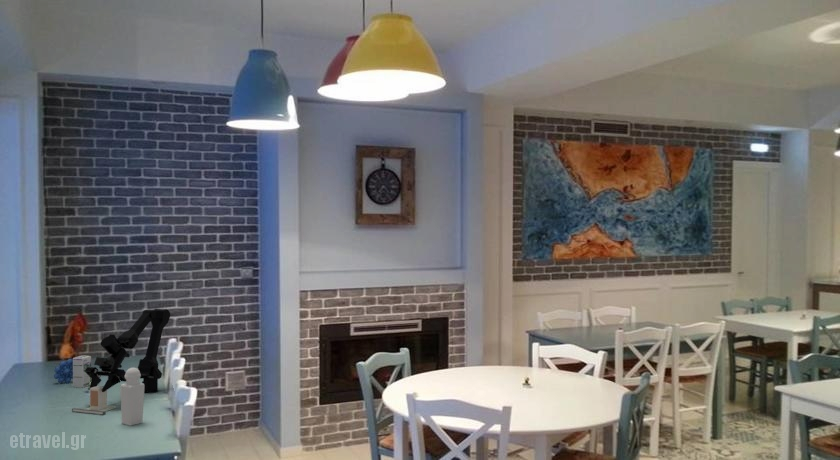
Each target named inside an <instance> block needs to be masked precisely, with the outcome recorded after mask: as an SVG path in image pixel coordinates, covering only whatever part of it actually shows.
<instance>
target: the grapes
mask: <svg viewBox="0 0 840 460" xmlns="http://www.w3.org/2000/svg"><path fill="white" fill-rule="evenodd" d="M54 372H55V373H54V375H53V378H54V380H57V383H58V384H63V383H65V384H69V383H70V382H72V380H73V358H69V359H67V360H66V361H65V360H62V361H60V362H59V366H56V367H55V368H54Z"/></svg>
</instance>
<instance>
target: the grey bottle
mask: <svg viewBox="0 0 840 460" xmlns="http://www.w3.org/2000/svg"><path fill="white" fill-rule="evenodd" d="M125 372H126V373H125V376H124V377H125V379H126V383H121V385H120V410H121V411H120V414H121V417H120V418H121V425H126V426H130V427H131V426H135V425H138V424H142V423H143V418H144V417H143V416H144V402H145V401H144V400H145V393H144V386H145V385H144V384H143V383H142V382H139V380H140V379H141V378H140V376H141V374H140V371H139V370H138V367H129V368H128V369H127V370H125Z"/></svg>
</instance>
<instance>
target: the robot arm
mask: <svg viewBox="0 0 840 460" xmlns="http://www.w3.org/2000/svg"><path fill="white" fill-rule="evenodd" d="M170 319H171V312H170V310H169V309H167V308H154V309H145V310H143V311H142V314H141V315H140V316H139V318H137V320H136V321H135V322H134V324H133V325H132V326H131V327H129V329H128V330H126V331H124V332H122V334H120V335H119V336H118V337H116V335H115V334H112V333H110V334H109V335H108V336H105V337H104V338H103V339H102V340H101V342H100V347H101V348H103V349H104V350H105V351H106V353H107V354H108V355H110V356H107V357H99V356H98V357H96V359H95V361H94V363H93V365H94V366H91V367H87V369H86V370H85V372H86V373H87V375H88V376H89V377H90V378H91V385H89V389H90V388H92V387H95V386H99V384H100V383H101V381H102V378H101V377H102V376H103V377H107V379H106V382H105V384H104V385H103V386H104V387H103V389H102V392H105V391H106V390H107V391H108V390H109V389H111V388H112V387H114V386H116V385H117V384H120V383H121V382H126V383H127V381H126V379H125V377H124V376H125V373H126V370H125V369H121V368H122V367H123V365H122V363H123V362H124V360H125V359H126V358H130V352H129V351H128V350H129V349H130V350H131V349H134V348H135V347H136V345H137V343H139V337H140V336H141V334H142V332H143V331H144V330H145V329H146V328H147V326H148V325H149V324H150V323H151V330H150V334H149V335H150V336H149V340H148V343H147V348H146V353H145V356H144V357H143V358H140V359H139V362H138V365H137V369H138V370H139V371H140V374H141V376H140V378H139V379H143V380H142V381H141V383H143V384H144V385H145V386H144V394H147V393H157V392H158V391H159V379H161V378H162V376H163V373H162V371H161V370H160V369H159V362H158V359H157V357H158V353H159V350H160V349H159V348H160V343H161V340H162V336H163V332H164V331H163V330H164V328H165V327H166V326H167V324H168V323H169V321H170ZM127 349H128V350H127ZM96 366H99V367H96ZM99 369H100V370H99Z"/></svg>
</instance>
